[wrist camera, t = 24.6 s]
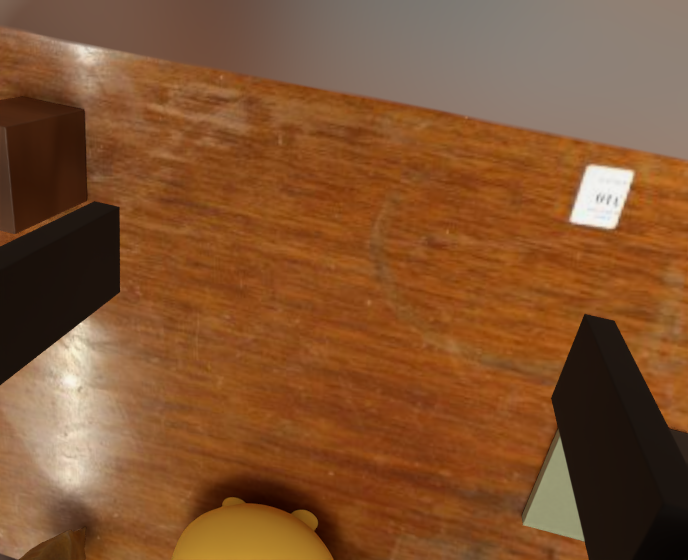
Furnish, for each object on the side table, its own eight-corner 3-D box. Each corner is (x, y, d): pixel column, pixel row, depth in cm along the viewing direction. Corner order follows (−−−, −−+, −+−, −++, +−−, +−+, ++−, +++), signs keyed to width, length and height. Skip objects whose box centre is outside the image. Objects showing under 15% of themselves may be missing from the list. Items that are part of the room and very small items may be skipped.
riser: (21, 96, 42) (-70, 110, 35) (84, 109, 42) (5, 127, 34) (28, 187, 45) (-54, 218, 38) (87, 200, 45) (15, 234, 37)
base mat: (567, 403, 44) (575, 433, 41) (816, 465, 42) (844, 500, 39) (521, 515, 49) (525, 549, 46) (740, 574, 47) (760, 613, 44)
